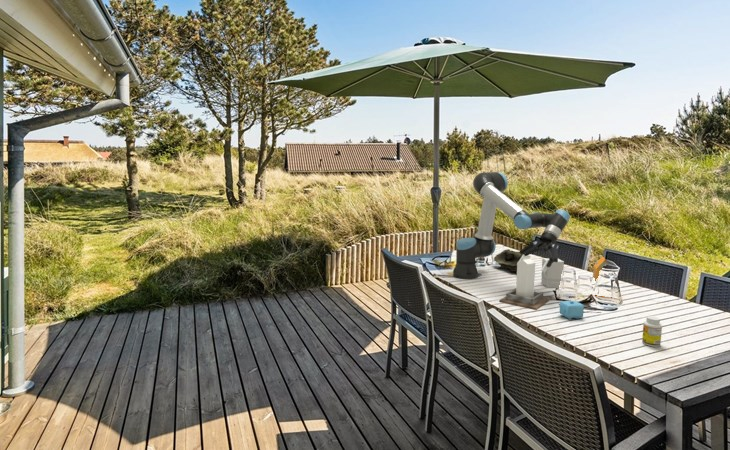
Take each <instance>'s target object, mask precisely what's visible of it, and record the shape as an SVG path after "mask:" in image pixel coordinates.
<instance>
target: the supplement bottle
mask: <svg viewBox="0 0 730 450" xmlns="http://www.w3.org/2000/svg"><path fill="white" fill-rule="evenodd" d="M660 321H661V319H660V318H659V317H657V316H651V315H649V316H646V320H645V321H643V327H642V339H641V340H642V341H641V342H642V343H643V344H644V345H646V346H648V347H653V348H655V347H656V348H657V347H660V346H661V342H662V332H663V325H662V323H661V322H660Z"/></svg>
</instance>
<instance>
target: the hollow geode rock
mask: <svg viewBox="0 0 730 450" xmlns="http://www.w3.org/2000/svg"><path fill="white" fill-rule="evenodd" d="M520 257H521V254H520V251H515V250H511V249H509V248H508V249H504V250H503V251H501V252H500V253H498V254H495V256H494V258H493V261H494V262H496V263H498V265H499V266H500V268H501V269H505V268H506V269H510V270H511V271H512V272H515V273H517V262H519V258H520Z"/></svg>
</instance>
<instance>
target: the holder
mask: <svg viewBox="0 0 730 450" xmlns="http://www.w3.org/2000/svg"><path fill="white" fill-rule="evenodd" d="M548 302H550V298H548V297H544V292H540V291H535V290H534V297H533V298H528V297H523V296H518V295H516V288H514V289H512V290H511V291H509V292H507V293H506V294H505V296H504V297H502V298H500V299H499V303H502V304H503V303H504V304H509V305H513V306H518V307H521V308H526V309H531V310H535V311H537V310H539V309H540V308H541V307H543V306H544V305H546V304H547V303H548Z"/></svg>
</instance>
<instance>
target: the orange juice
mask: <svg viewBox="0 0 730 450" xmlns="http://www.w3.org/2000/svg"><path fill="white" fill-rule="evenodd" d="M597 262H598V265H597V264H596V263H597ZM605 264H609V265H610V263H609V262H608V260H607V259H606V257H604V256H603V255H602V256H601V257H600V258H599V259H598V260H596V262H595V263H594V265H593V269H592V270H593V271H592V278H593V277H594V278H595V281H596V279H597V278H598V276H599V271H600V270H602V267H603V266H604V265H605ZM596 270H597V271H596Z"/></svg>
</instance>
